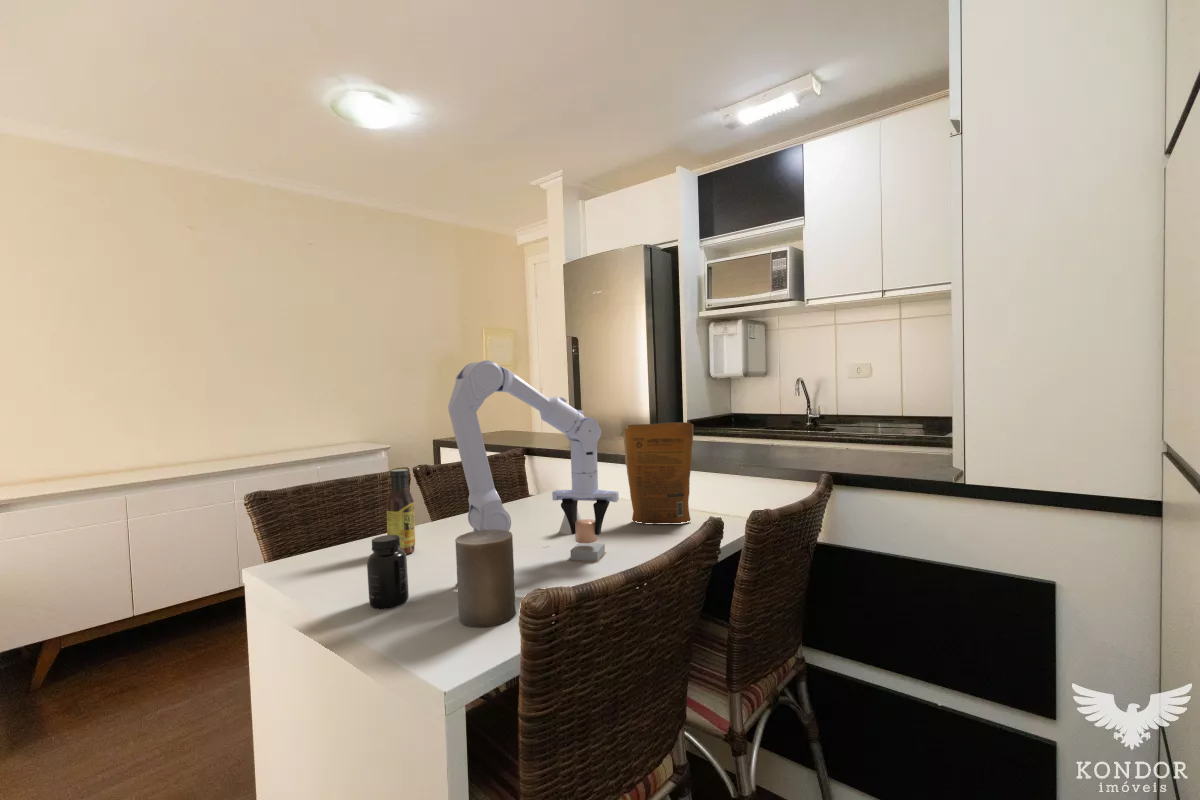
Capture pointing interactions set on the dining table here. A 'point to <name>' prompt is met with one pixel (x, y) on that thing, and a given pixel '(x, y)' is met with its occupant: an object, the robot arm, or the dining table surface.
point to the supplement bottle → (387, 573)
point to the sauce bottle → (401, 511)
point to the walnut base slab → (587, 561)
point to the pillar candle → (485, 577)
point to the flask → (567, 525)
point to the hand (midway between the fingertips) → (586, 533)
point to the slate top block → (588, 551)
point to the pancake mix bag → (659, 470)
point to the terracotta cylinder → (585, 531)
